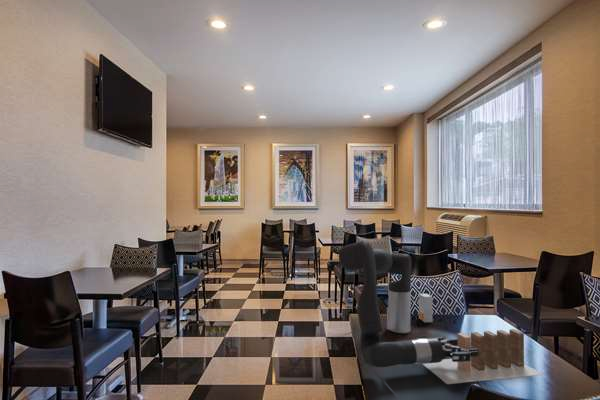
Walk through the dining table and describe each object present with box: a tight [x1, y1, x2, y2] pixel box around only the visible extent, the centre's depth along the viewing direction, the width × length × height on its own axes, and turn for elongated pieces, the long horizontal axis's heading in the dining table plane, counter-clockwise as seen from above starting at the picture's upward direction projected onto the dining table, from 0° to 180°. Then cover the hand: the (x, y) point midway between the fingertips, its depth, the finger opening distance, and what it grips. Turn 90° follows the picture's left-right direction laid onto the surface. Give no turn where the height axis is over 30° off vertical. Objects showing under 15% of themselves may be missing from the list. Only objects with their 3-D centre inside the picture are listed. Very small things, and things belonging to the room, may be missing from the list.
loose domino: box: [456, 332, 471, 372], centre depth 118 cm, size 2×4×11 cm, turn 12°
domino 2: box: [483, 330, 498, 369], centre depth 120 cm, size 2×4×11 cm, turn 11°
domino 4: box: [509, 329, 525, 367], centre depth 122 cm, size 2×4×11 cm, turn 11°
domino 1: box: [470, 331, 485, 371], centre depth 119 cm, size 2×4×11 cm, turn 11°
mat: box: [422, 358, 543, 385], centre depth 119 cm, size 34×16×1 cm, turn 101°
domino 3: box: [496, 329, 511, 368], centre depth 121 cm, size 2×4×11 cm, turn 11°
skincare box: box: [418, 293, 434, 323], centre depth 170 cm, size 6×4×12 cm
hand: (469, 347), depth 118 cm, fingers open, 8 cm apart
